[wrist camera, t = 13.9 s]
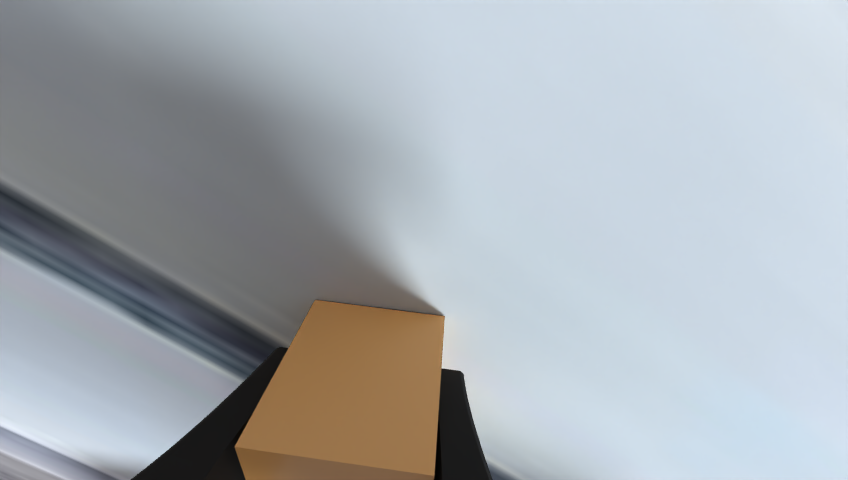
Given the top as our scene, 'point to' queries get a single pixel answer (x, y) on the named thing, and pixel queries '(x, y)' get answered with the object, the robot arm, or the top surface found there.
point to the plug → (350, 399)
